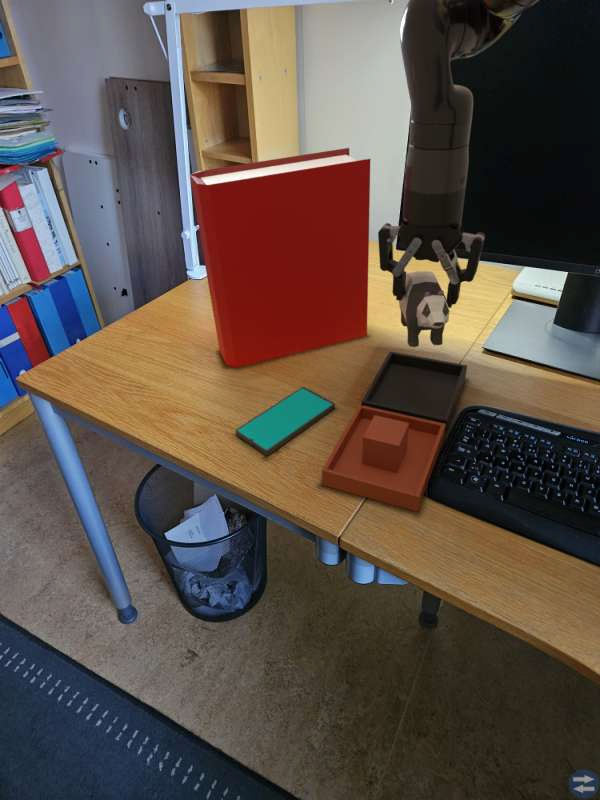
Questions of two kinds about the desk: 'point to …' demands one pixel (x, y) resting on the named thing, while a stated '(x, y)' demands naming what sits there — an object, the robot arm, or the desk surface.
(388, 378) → the charcoal tray
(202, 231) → the book
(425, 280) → the giant panda
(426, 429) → the terracotta tray
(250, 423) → the smartphone
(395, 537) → the desk surface
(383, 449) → the terracotta block
